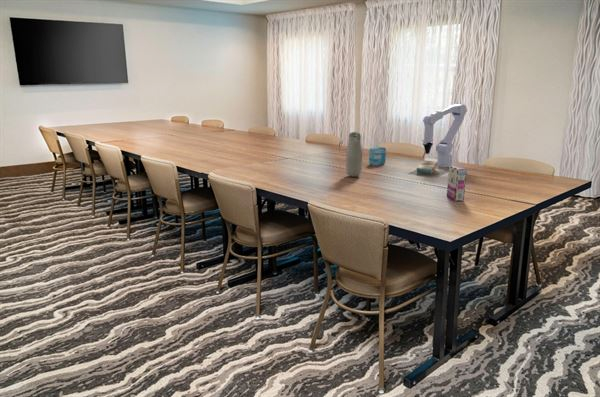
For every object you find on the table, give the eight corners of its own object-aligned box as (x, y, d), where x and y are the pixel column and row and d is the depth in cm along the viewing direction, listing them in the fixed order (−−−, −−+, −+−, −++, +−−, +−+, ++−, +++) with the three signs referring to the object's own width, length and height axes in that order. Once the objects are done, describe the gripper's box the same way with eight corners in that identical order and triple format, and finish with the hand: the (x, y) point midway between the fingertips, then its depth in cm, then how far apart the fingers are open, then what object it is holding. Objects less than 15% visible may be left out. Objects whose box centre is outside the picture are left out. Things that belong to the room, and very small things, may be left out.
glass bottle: (344, 177, 290) (344, 132, 282) (348, 174, 299) (349, 130, 292) (359, 178, 286) (360, 133, 279) (363, 175, 296) (364, 131, 288)
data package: (373, 165, 327) (373, 148, 324) (368, 164, 330) (369, 148, 327) (385, 163, 333) (386, 147, 330) (380, 163, 337) (381, 146, 334)
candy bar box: (464, 201, 233) (467, 169, 229) (454, 201, 233) (457, 169, 229) (455, 195, 244) (457, 165, 240) (446, 196, 244) (448, 165, 240)
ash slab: (423, 160, 303) (416, 168, 295) (437, 161, 298) (430, 169, 290) (423, 166, 305) (416, 173, 297) (437, 167, 300) (430, 175, 292)
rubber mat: (419, 169, 314) (419, 165, 313) (448, 172, 303) (448, 168, 302) (407, 174, 297) (407, 170, 297) (437, 178, 286) (438, 174, 286)
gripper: (426, 132, 319) (425, 151, 322) (419, 134, 307) (417, 154, 311) (436, 132, 315) (435, 152, 318) (429, 134, 303) (428, 155, 307)
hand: (427, 153), depth 314 cm, fingers closed
